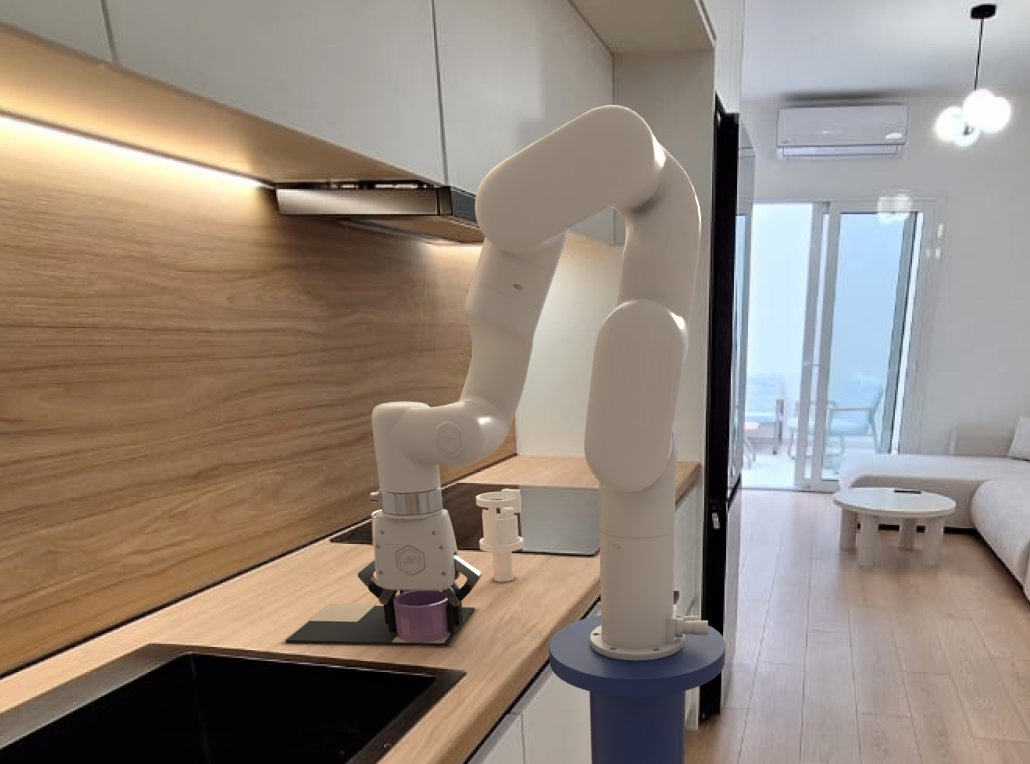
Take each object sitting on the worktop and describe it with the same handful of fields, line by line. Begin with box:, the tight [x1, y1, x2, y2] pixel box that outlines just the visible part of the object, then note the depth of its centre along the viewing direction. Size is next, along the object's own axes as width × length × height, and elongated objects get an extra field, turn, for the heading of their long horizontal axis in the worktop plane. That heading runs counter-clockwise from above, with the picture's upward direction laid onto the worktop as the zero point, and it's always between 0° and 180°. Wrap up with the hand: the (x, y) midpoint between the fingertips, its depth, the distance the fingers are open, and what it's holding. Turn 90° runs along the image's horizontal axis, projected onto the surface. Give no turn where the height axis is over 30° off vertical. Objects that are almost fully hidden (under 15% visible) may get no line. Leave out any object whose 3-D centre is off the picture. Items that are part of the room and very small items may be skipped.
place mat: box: [285, 603, 476, 647], centre depth 114 cm, size 22×14×1 cm, turn 87°
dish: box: [393, 591, 450, 642], centre depth 109 cm, size 7×7×5 cm
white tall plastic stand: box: [475, 488, 525, 583], centre depth 131 cm, size 7×7×15 cm
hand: (425, 628), depth 110 cm, fingers closed on dish, 7 cm apart
